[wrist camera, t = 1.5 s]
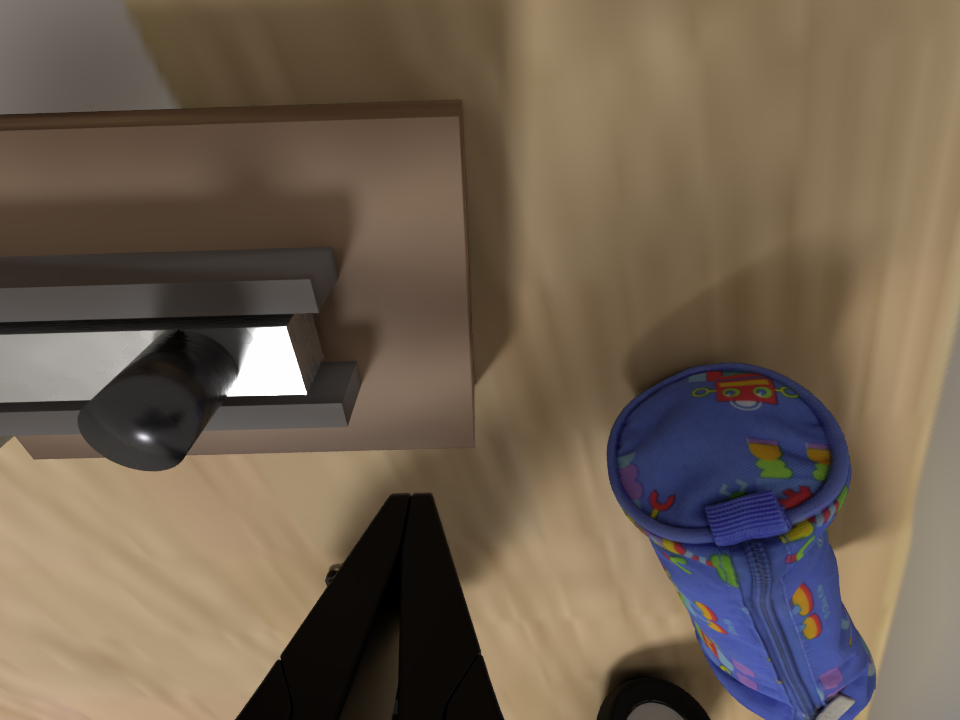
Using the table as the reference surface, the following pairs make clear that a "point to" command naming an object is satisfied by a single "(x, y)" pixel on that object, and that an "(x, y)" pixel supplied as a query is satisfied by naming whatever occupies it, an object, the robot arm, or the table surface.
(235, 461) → the table surface
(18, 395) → the lock bolt
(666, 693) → the portable speaker
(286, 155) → the door board
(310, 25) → the table surface
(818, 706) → the pencil case
